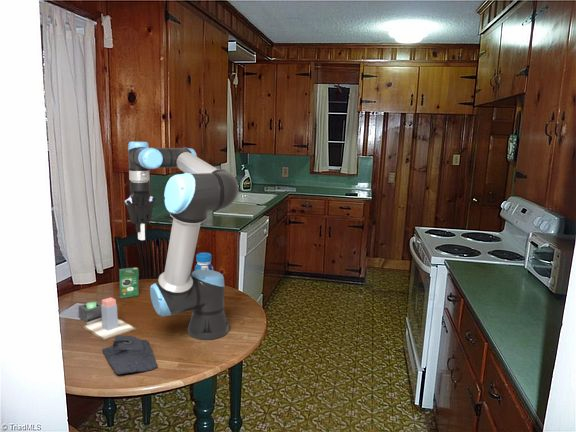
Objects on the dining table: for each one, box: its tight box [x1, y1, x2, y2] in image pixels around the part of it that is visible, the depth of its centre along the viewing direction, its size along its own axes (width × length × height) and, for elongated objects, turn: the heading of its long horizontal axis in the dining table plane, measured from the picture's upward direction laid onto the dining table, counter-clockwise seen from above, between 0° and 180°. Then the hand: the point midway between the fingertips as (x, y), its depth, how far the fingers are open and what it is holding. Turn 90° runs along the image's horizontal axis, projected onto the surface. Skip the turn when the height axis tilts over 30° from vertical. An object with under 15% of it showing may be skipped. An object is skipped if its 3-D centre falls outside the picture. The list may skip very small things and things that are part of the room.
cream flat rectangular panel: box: [80, 317, 138, 342], centre depth 161 cm, size 17×13×1 cm
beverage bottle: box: [194, 252, 214, 271], centre depth 193 cm, size 8×8×20 cm
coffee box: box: [118, 267, 140, 299], centre depth 191 cm, size 8×3×13 cm, turn 119°
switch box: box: [78, 300, 102, 323], centre depth 169 cm, size 7×7×5 cm
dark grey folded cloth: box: [102, 334, 159, 376], centre depth 140 cm, size 15×22×5 cm
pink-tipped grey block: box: [101, 296, 119, 331], centre depth 160 cm, size 4×4×11 cm
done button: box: [85, 300, 97, 309], centre depth 169 cm, size 4×4×5 cm
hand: (141, 239), depth 173 cm, fingers closed
